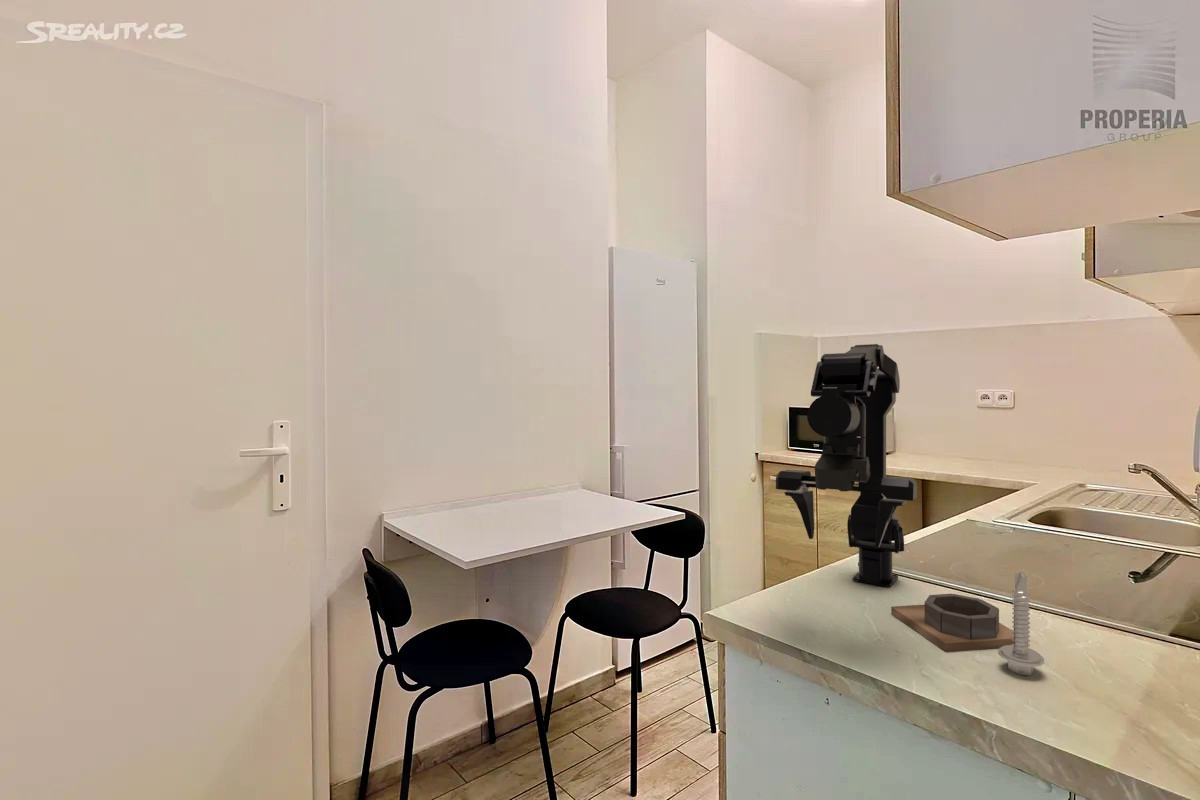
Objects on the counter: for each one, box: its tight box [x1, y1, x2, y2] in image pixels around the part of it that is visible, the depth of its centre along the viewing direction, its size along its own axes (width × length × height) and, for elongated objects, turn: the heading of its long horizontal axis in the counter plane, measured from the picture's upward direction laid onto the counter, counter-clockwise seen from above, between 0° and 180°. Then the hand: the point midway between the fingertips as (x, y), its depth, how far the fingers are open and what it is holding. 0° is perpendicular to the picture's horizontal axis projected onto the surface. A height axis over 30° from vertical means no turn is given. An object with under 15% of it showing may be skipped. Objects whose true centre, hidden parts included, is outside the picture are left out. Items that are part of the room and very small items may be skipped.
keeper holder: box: [890, 593, 1014, 653], centre depth 88 cm, size 13×12×4 cm
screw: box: [997, 572, 1045, 676], centre depth 75 cm, size 13×5×5 cm
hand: (843, 542), depth 86 cm, fingers open, 9 cm apart
